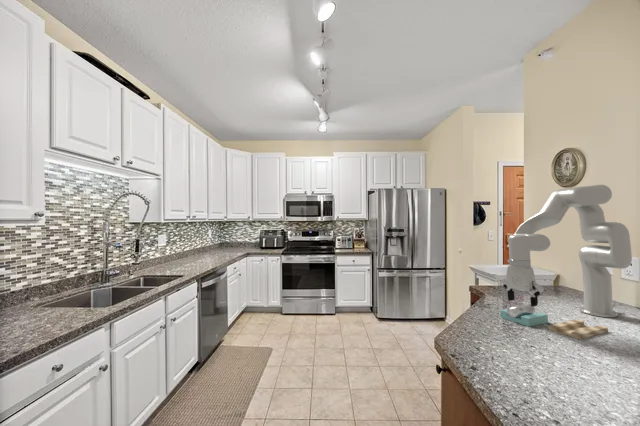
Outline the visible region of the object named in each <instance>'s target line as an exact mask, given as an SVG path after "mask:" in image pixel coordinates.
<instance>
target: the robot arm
mask: <svg viewBox="0 0 640 426" xmlns="http://www.w3.org/2000/svg"><path fill="white" fill-rule="evenodd" d="M612 196H613V192H612V189H611V188H610V187H609V186H607V185H605V184H593V185H585V186H575V187H568V188H567V187H566V188H560V189H556V190H554V191H553V192H552V193H551V194H550V195H549V196H548V198H547V200H546V201H545V203H544V205H542V207H541V209H540V210H539V212H538V213H536V214H535V215H533V216H532V217H530V218H528V219H527V220H526V221H524V222H523V223H521V224H520V225H519V226H518V227H517V229H516V231H515V232H514V233H513V234H511V235H510V236H508V238H507V239H508V240H507V243H508V255H509V256H508V257H509V258H508V259H507V263H509V264H508V265H507V269H506V278H504V279H501V283H502V285H503V288H504V289H505V291H506V292H507V300H508V301H510V302H511V301H515V291H520V292H525V293H526V292H527V293H529V294H530V298H529V299H530V305H531V306H532V307H534V308H535V307H537V306H538V304H539V301H538V300H539V299H538V297H539V296H540V295H542V294H543V292H544V289H545V288H544V287H543V286H542V285H540V284H539V283H537V281H536V277H535V273H534V269H533V267H532V262H531V252H543V251H544V252H545V251H546V250H548V249H549V248H550V246H551V241H550V238H549V237H548V236H547V235H544V234H541V233H537V232H538V231H540V230H542V229H547V228H551V227H552V226H555V225H557V224H559V223H561V221H562V220H563V218H564V217H565V215H566V213H567V212H568V210H569V208H574V209H575V210H576V212H577V213H578V218H579V226H580V227H579V228H580V235H581V238H582V239H583V241H585V242H588V243H595V244H588V245H585V246H583V247H581V248H580V249H579V251H578V257H579V258H578V259H579V260H580V261H579V262H580V264H581V268H582V269H581V270H582V283H583V285H582V286H583V287H582V289H583V305H584V306H581V307H580V308H579V311H580V312H581V313H583V314H587V315H590V316H596V317H601V318H617V317H619V313H618V312H617V311H614V308H616V307H617V306H616V303H614V302H613V288H612V287H613V285H612V276H611V273H610V272H609V270H608V268H612V269H620V270H621V269H622V270H623V269H627V268H629V267H630V266H631V264H632V260H633V259H632V258H633V255H632V247H631V246H632V245H631V237H630V236H631V235H630V231H629V229H628V227H627V226H626V225H625V224H623V223H621V222H616V221H615V222H614V221H611V222H610V221H606V219H605V212H604V209H603V208H602V207H601V206H600V205H604V204H607V203H608V202H609V201H610V200H611V199H612ZM597 243H599V244H609V245H598V244H597ZM596 244H597V245H596ZM514 290H515V291H514Z"/></svg>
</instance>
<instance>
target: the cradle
mask: <svg viewBox="0 0 640 426" xmlns="http://www.w3.org/2000/svg"><path fill="white" fill-rule="evenodd" d="M507 309H508V308H505V309H500V311H499V312H500V318H501V319H504V320H507V321H510V322H513V323H516V324H520V325H522V326H526V327H528V328H529V327H533V326H539V325H542V324H548V323H549V318H548V317H549V314H546V313H543V312H537V313H534V314H530V315H525V316H520V317H515V318H512V317H510V316H509V315H508V314H507Z"/></svg>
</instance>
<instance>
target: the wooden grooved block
mask: <svg viewBox="0 0 640 426" xmlns="http://www.w3.org/2000/svg"><path fill="white" fill-rule="evenodd" d="M548 330H549V331H552V332H556V333H558V334H561V335H565V336H567V337H571V338H574V339H577V340H581V339H585V338H589V337H593V336H597V335H600V334H604V333H608V332H609V327H608V326H604V325H600V324H599V325H595V326H591V325H587V324H585V321H584V320H582V319H577V318H576V319H571V320H567V321H564V322H563V321H562V322H558V323H554V324H550V325H548Z"/></svg>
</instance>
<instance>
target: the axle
mask: <svg viewBox="0 0 640 426" xmlns="http://www.w3.org/2000/svg"><path fill="white" fill-rule="evenodd" d="M506 309H507V314H508V315H509V316H510V317H512V318H515V317H520V316H525V315H530V314H535V312H536V308H535V306H534V307H532V306H531V304H524V305H523V304H522V305H518V306H514V307H508V308H506Z"/></svg>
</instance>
